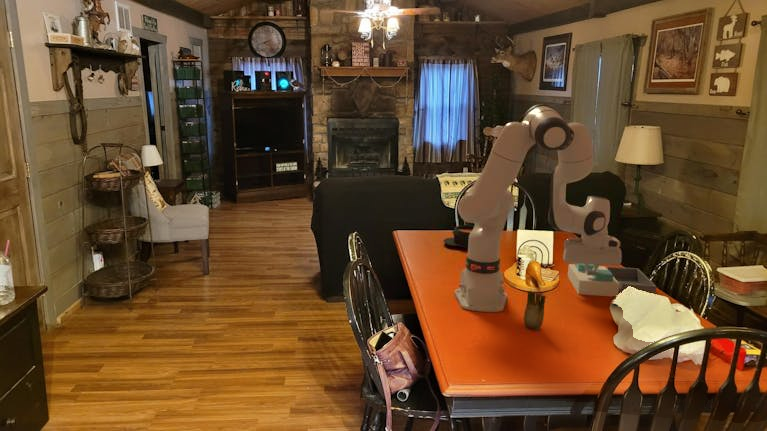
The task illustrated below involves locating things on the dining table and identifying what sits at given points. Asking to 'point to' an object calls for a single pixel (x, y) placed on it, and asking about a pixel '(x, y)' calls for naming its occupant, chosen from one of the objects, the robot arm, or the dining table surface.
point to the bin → (632, 279)
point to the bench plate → (591, 283)
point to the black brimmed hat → (460, 236)
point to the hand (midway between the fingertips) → (589, 274)
